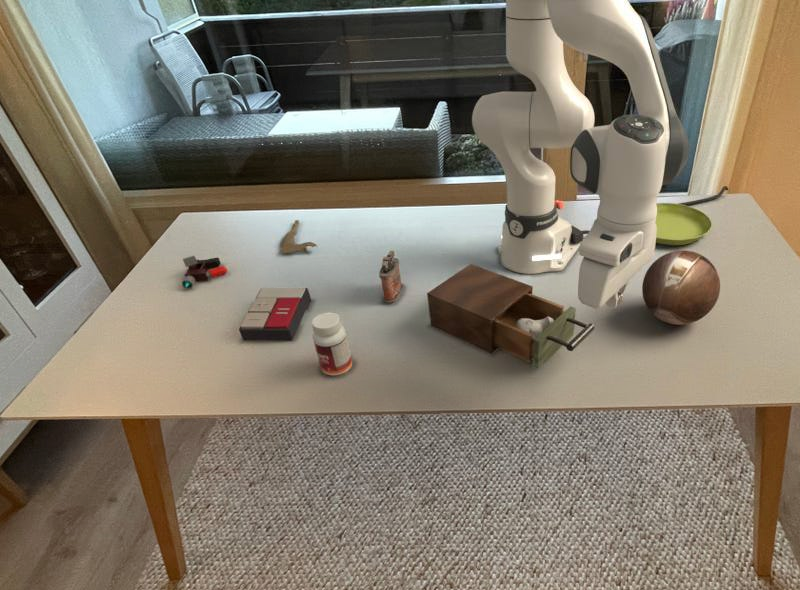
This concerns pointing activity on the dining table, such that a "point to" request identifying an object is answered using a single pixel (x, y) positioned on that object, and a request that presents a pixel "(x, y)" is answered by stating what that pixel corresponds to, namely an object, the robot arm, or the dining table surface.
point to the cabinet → (473, 304)
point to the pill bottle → (331, 344)
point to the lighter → (391, 278)
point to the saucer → (680, 224)
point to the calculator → (275, 314)
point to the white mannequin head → (533, 325)
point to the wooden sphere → (681, 287)
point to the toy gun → (201, 270)
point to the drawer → (547, 340)
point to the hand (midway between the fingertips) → (614, 303)
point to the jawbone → (289, 244)
